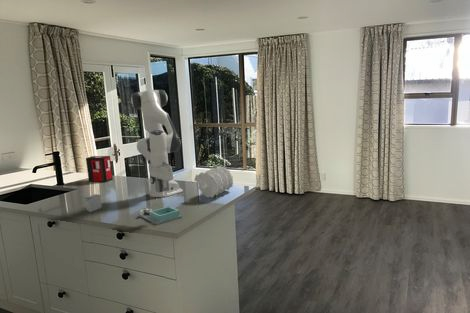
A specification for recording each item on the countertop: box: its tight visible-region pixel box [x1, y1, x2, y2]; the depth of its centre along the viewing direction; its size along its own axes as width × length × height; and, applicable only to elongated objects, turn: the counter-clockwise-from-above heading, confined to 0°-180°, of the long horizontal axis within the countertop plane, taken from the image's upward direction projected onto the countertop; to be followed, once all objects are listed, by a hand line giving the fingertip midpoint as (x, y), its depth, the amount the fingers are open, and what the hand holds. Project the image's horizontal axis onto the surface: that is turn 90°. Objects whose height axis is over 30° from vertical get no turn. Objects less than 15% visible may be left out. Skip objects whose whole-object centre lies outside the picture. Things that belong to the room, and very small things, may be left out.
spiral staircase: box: [194, 165, 234, 199], centre depth 237 cm, size 18×18×25 cm
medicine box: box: [84, 193, 103, 213], centre depth 219 cm, size 8×4×9 cm, turn 150°
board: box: [138, 208, 183, 226], centre depth 199 cm, size 15×21×4 cm
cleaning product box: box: [85, 155, 114, 183], centre depth 297 cm, size 16×9×20 cm, turn 77°
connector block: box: [155, 179, 169, 192], centre depth 194 cm, size 6×4×6 cm
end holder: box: [149, 205, 181, 221], centre depth 196 cm, size 12×11×3 cm
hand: (162, 186), depth 194 cm, fingers closed on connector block, 4 cm apart
